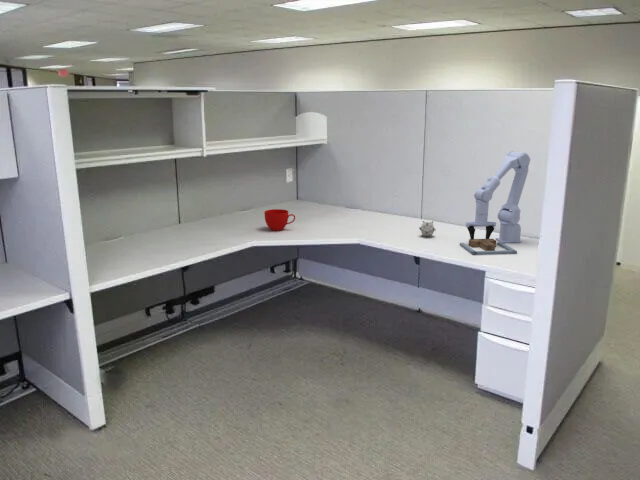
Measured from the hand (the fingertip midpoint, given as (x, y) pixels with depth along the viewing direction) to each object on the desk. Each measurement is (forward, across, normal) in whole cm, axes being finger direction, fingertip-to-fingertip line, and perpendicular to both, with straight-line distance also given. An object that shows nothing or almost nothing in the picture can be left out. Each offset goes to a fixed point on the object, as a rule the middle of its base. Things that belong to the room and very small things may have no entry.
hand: (479, 240), depth 266 cm
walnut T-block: (+2, 0, +7) cm, 7 cm away
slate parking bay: (+2, 0, +10) cm, 10 cm away
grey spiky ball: (+2, +21, -18) cm, 28 cm away
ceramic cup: (+2, +96, -40) cm, 104 cm away
